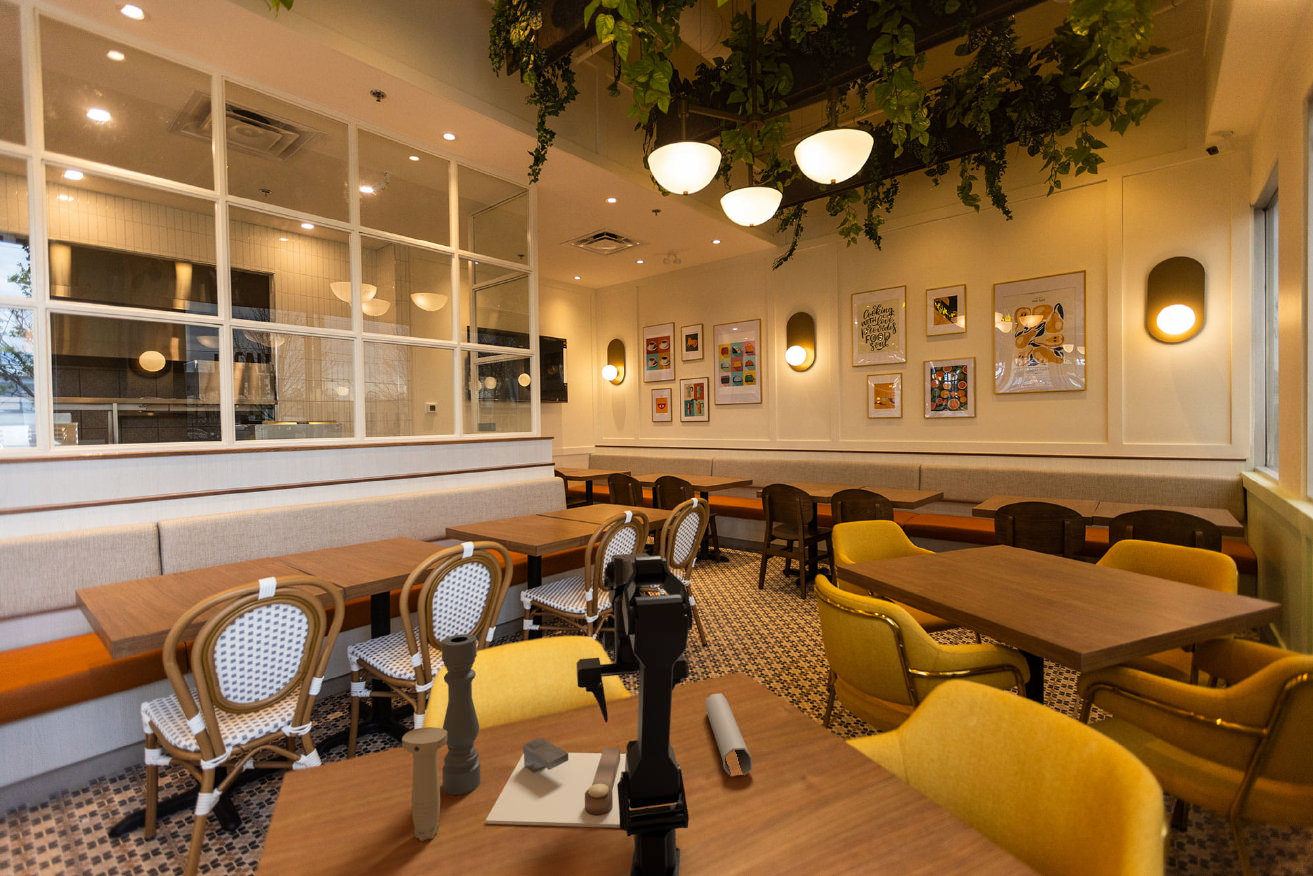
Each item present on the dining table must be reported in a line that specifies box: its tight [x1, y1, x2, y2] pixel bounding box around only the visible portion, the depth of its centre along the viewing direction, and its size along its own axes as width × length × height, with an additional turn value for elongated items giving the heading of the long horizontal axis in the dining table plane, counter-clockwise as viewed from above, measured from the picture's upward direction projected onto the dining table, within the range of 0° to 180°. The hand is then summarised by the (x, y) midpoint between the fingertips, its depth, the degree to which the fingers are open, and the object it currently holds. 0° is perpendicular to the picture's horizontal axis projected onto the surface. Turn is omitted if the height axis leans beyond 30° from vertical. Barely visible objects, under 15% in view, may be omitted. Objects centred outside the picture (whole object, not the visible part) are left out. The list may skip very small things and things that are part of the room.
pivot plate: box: [485, 752, 631, 829], centre depth 100 cm, size 20×22×3 cm
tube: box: [705, 692, 753, 776], centre depth 115 cm, size 5×5×25 cm
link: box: [585, 747, 621, 815], centre depth 99 cm, size 16×4×2 cm, turn 176°
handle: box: [401, 726, 447, 842], centre depth 89 cm, size 5×6×15 cm
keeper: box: [522, 737, 569, 773], centre depth 104 cm, size 8×4×4 cm, turn 46°
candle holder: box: [441, 633, 481, 796], centre depth 101 cm, size 6×6×25 cm
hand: (633, 718), depth 101 cm, fingers open, 9 cm apart
